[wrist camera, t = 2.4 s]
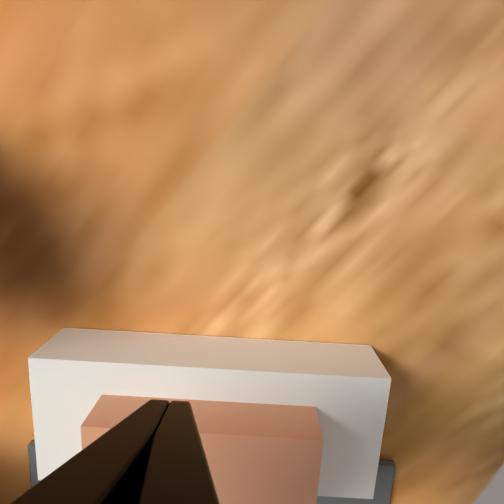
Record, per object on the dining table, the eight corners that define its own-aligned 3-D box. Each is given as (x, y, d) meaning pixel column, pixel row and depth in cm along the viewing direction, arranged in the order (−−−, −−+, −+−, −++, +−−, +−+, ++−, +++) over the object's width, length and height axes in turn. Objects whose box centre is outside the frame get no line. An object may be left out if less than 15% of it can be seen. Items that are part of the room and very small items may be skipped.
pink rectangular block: (104, 474, 17) (85, 514, 15) (101, 394, 16) (80, 426, 14) (307, 485, 17) (313, 527, 15) (315, 406, 16) (323, 440, 14)
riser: (69, 434, 20) (38, 480, 17) (63, 327, 19) (27, 357, 16) (356, 450, 20) (372, 499, 17) (370, 345, 19) (391, 378, 16)
